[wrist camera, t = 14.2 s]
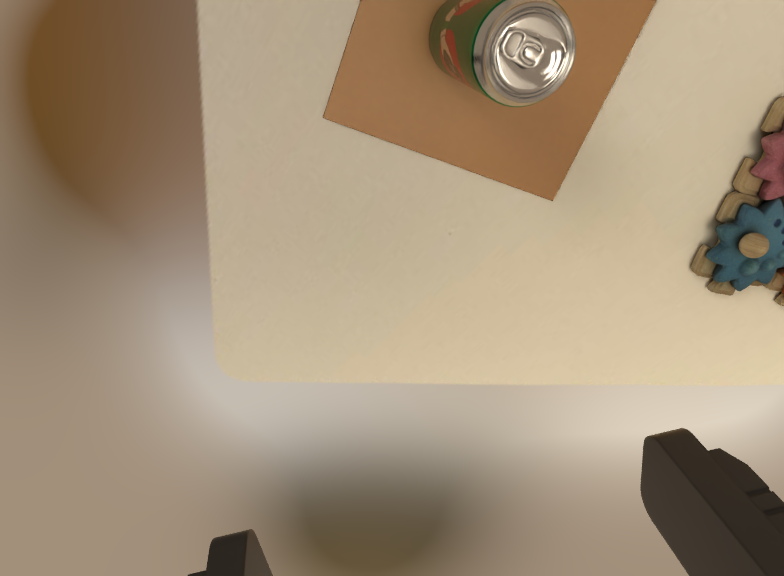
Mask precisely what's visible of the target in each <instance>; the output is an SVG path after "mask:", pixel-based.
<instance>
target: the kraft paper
mask: <svg viewBox="0 0 784 576" xmlns="http://www.w3.org/2000/svg"><path fill="white" fill-rule="evenodd" d="M446 1H447V0H361V2H360V5H359V8H358V11H357V14H356V17H355V20H354V23H353V26H352V30H351V33H350V36H349V39H348V42H347V45H346V48H345V51H344V54H343V57H342V60H341V64H340V67H339V70H338V73H337V76H336V79H335V82H334V85H333V88H332V91H331V94H330V98H329V101H328V104H327V107H326V110H325V113H324V116H323V118H325V119H328V120H331V121H334V122H336V123H339V124H342V125H345V126H347V127H350V128H353V129H356V130H358V131H361V132H364V133H367V134H369V135H372V136H375V137H378V138H380V139H383V140H386V141H389V142H391V143H394V144H397V145H400V146H402V147H405V148H408V149H411V150H413V151H416V152H419V153H422V154H425V155H427V156H430V157H433V158H436V159H438V160H441V161H444V162H447V163H449V164H452V165H455V166H458V167H460V168H463V169H466V170H469V171H471V172H474V173H477V174H480V175H482V176H485V177H488V178H491V179H493V180H496V181H499V182H502V183H505V184H507V185H510V186H513V187H516V188H518V189H521V190H524V191H527V192H529V193H532V194H535V195H538V196H540V197H543V198H546V199H549V200H551V201H553V199H554V197H555V195H556V194H557V192H558V190H559V188H560V186H561V184H562V182H563V180H564V178H565V176H566V174H567V172H568V170H569V168H570V166H571V165H572V163H573V161H574V159H575V157H576V155H577V153H578V151H579V149H580V147H581V145H582V143H583V141H584V139H585V137H586V135H587V134H588V132H589V130H590V128H591V126H592V124H593V122H594V120H595V118H596V116H597V114H598V112H599V110H600V108H601V106H602V105H603V103H604V101H605V99H606V97H607V95H608V93H609V91H610V89H611V87H612V85H613V83H614V81H615V79H616V77H617V76H618V74H619V72H620V70H621V68H622V66H623V64H624V62H625V60H626V58H627V56H628V54H629V52H630V50H631V48H632V46H633V45H634V43H635V41H636V39H637V37H638V35H639V33H640V31H641V29H642V27H643V25H644V23H645V21H646V19H647V17H648V16H649V14H650V12H651V10H652V8H653V6H654V4H655V2H656V0H555V1H556V2H558V3H559V4H560V5H561V7H562V8H563V9H564V10H565V12H566V13H567V15H568V17H569V19H570V21H571V23H572V27H573V29H574V33H575V37H576V55H575V60H574V63H573V66H572V69H571V71H570V73H569V75H568V77H567V78H566V80H565V81H564V83H563V84H562V85H561V86H560V87H559V88H558V89H557V90H556V91H555V92H554V93H552V94H551V95H549V96H548V97H546V98H545V99H543V100H542V101H540V102H538V103H536V104H533V105H530V106H526V107H508V106H503V105H501V104H498V103H496V102H494V101H493V100H491V99H489V98H487V97H486V96H484V95H482V94H481V93H479V92H477V91H475V90H474V89H472V88H470V87H468V86H467V85H465V84H463V83H461V82H460V81H458V80H456V79H454V78H453V77H451V76H449V75H448V74H446V73H444V72H443V71H442V70H441V69H440V68H439V67H438V66H437V64H436V63H435V61H434V59H433V57H432V55H431V52H430V47H429V30H430V26H431V23H432V20H433V17H434V16H435V14H436V12H437V11H438V9H439V8H440V7H441V6H442V5H443V4H444V3H445V2H446Z"/></svg>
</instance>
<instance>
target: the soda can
mask: <svg viewBox="0 0 784 576" xmlns="http://www.w3.org/2000/svg"><path fill="white" fill-rule="evenodd" d="M429 47H430V52H431V55H432V57H433V59H434V61H435V63H436V64H437V66H438V67H439V68H440V69H441V70H442V71H443V72H444V73H446V74H448V75H449V76H451V77H453V78H454V79H456V80H458V81H460V82H461V83H463V84H465V85H467V86H468V87H470V88H472V89H474V90H475V91H477V92H479V93H481V94H482V95H484V96H486V97H487V98H489V99H491V100H493V101H494V102H496V103H498V104H501V105H503V106H508V107H526V106H530V105H533V104H536V103H538V102H540V101H542V100H543V99H545V98H546V97H548V96H549V95H551V94H552V93H554V92H555V91H556V90H557V89H558V88H559V87H560V86H561V85H562V84H563V83H564V81H565V80H566V78H567V77H568V75H569V73H570V71H571V69H572V66H573V63H574V60H575V55H576V37H575V33H574V29H573V27H572V23H571V21H570V19H569V17H568V15H567V13H566V12H565V10H564V9H563V8H562V7H561V5H560V4H559V3H558V2H556V1H555V0H447V1H446V2H445V3H444V4H443V5H442V6H441V7H440V8H439V9H438V11H437V12H436V14H435V16H434V17H433V20H432V23H431V26H430V30H429Z"/></svg>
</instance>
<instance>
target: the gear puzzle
mask: <svg viewBox="0 0 784 576" xmlns="http://www.w3.org/2000/svg"><path fill="white" fill-rule="evenodd" d="M761 130H763V131H766V132H773V134H771V135H768V136H765V137H763V138H762V139H761V144H762V147H763V150H764V153H763V155H762V157H761V158H760V160H759V161H757V162H755V161H754V160H753V159H751V158H748V157H747V158H746V159H745V160H744V162H743V164H742V166H741V168H740V170H739V172H738V174H737V176H736V178H735V179H734V182H733V186H734V188H735V190H736V191H734V192H732V193H730V194H728V196H727V197H726V198H725V200H724V202H723V204H722V206H721V208H720V210H719V212H718V214H717V216H716V219H717V220H718V221H720V222H727V223H725V224H721V225H719V226H717V228H716V233H717V235H718V238H719V240H718V242H717V243H716V245H715V246H714V247H713V248H710V247H708V246H707V245H702V246H701V247H700V249H699V251H698V253H697V255H696V257H695V259H694V261H693V263H692V265H691V269H692V271H693V272H694V273H695V274H697V275H698V276H703V277H708V278H713V281H712V282H711V283H710V284H709V285H708V286H707V288H708V289H709V290H710V291H711V292H715V293H720V294H725V295H732V294H733V293H734V292H735V289H736V290H737V291H742V290H743V289H745V288H747V287H748V286H749V285H752V286H760V285H763V286H765V287H766V288H768V289H770V290H775V291H781V292H782V293H781V294H780V295H779V296H778V297H777V298H776V299H775V302H776V303H778V304H779V305H782V306H784V97H781V98H779V99H778V100H777V101H775V102H774V104H773V105H772V107H771V109H770V111H769V113H768V115H767V117H766V119H765V121H764V123H763V125H762V127H761Z"/></svg>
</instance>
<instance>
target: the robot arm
mask: <svg viewBox="0 0 784 576" xmlns="http://www.w3.org/2000/svg"><path fill="white" fill-rule="evenodd" d="M641 495H642V500H643V503H644V506H645V508H646V511H647V513H648V515H649V517H650V518H651V520H652V521H653V523H654V524H655V526H656V527H657V529H658V530H659V532H660V533H661V535H662V536H663V538H664V539H665V540H666V542H667V544H668V545H669V547H670V548H671V549H672V551H673V552H674V554H675V555H676V557H677V558H678V560H679V561H680V563H681V564H682V566H683V567H684V568H685V570H686V572H687V573H688V574H689V576H784V502H783V501H782V500H781V499H780V498H779V497H778V496H777V495H776V494H775V493H774V492H773V491H772V492H771V491H770V490H769V487H768V486H767V485H766V484H765V482H764V481H763V480H762V479H761V478H760V477H759V476H758V475H757V474H756V473H755V472H754V471H753V470H752V469H751V468H750V467H749V466H748V465H747V464H745V463H744V462H742V461H740V460H739V459H737V458H735V457H733V456H732V455H730V454H728V453H727V452H725V451H723V450H722V449H720V448H718V449H714V450H710V451H707V450H706V448H705V447H704V446H703V445H702V444H701V443H700V442H699V441H698V439H697V438H696V437H695V436H694V435H693V434H692V433H691V432H690V431H688V430H687V429H684V428H680V429H676V430H672V431H668V432H663V433H660V434H655V435H651V436H647V437H646V438H645V440H644V446H643V460H642V474H641ZM188 576H273V575H272V573H271V570H270V568H269V565H268V563H267V561H266V558H265V556H264V553H263V551H262V548H261V546H260V544H259V542H258V539H257V536H256V534H255V532H254V531H253V530H252V529H250V530H246V531H242V532H237V533H234V534H229V535H225V536H221V537H216V538H214V539H213V540H212V542H211V544H210V549H209V555H208V562H207V568H206V571H201V572H197V573H193V574H190V575H188Z"/></svg>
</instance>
